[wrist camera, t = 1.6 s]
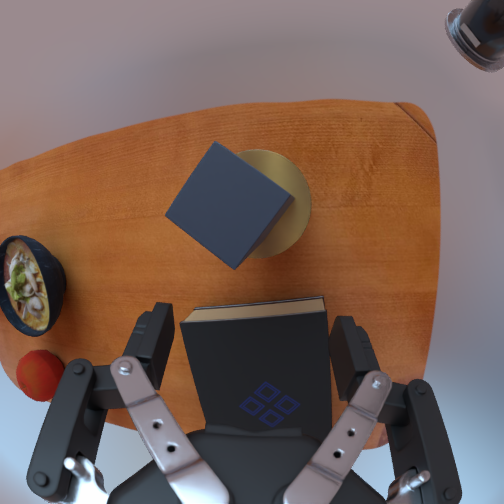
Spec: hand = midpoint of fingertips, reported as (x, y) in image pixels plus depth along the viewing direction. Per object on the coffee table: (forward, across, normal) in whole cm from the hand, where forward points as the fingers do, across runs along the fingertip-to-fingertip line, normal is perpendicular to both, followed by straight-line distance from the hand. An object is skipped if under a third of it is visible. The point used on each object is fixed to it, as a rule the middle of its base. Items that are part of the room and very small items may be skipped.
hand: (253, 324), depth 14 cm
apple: (+21, +38, +38) cm, 58 cm away
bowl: (+27, +35, +19) cm, 48 cm away
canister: (+25, -2, +3) cm, 25 cm away
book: (+17, -4, +26) cm, 31 cm away
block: (+12, 0, -2) cm, 12 cm away
